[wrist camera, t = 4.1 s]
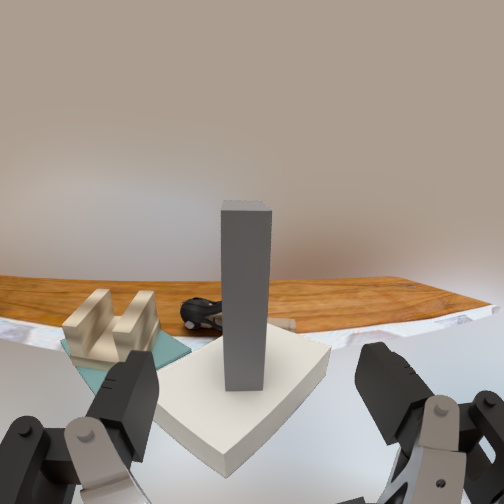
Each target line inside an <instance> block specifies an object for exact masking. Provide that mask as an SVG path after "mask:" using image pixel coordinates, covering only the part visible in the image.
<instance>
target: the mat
mask: <svg viewBox="0 0 504 504" xmlns="http://www.w3.org/2000/svg"><path fill="white" fill-rule="evenodd" d="M60 341H61V344H62V345H63V347H64V349H65V350H66V352H67V354H68V355H69V357H70V354H71V352H70V350H69V347H68V344H67V341H66V338H65V339H63V340H60ZM190 352H191V349H190V348H189V347H187V346H185V345H184V344H182V343H181V342H179V341H178V340H176V339H174V338H173V337H171V336H170V335H168V334H167V333H165V332H164V331H162V330H160V332H159V335H158V337H157V340H156V342H155V345H154V348H153V350H152V354H153V358H154V363H155V367H156V370H158V369H160V368H162V367H164V366H166V365H168V364H169V363H172V362H173V361H175V360H177V359H179V358H181V357H183V356H185V355H186V354H188V353H190ZM70 359H71V358H70ZM75 367H76V368H77V370H78V371H79V373H80V374H81V376H82V377H83V379H84V380H85V382H86V383H87V384H88V386H89V388H90V389H91V390H92V392H93V393H94V394H95V396H96V394H97V392H98V390H99V388H101V384H102V382H103V380H105V379H104V378H105V377H106V375H107V373H108V371H102V370H96V369H90V368H84V367H79V366H75Z"/></svg>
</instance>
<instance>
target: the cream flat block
mask: <svg viewBox="0 0 504 504" xmlns="http://www.w3.org/2000/svg"><path fill="white" fill-rule="evenodd" d="M331 347H332V346H329V345H326V344H324V343H321V342H318V341H315V340H312V339H309V338H306V337H304V336H301V335H298V334H295V333H293V332H290V331H287V330H284V329H282V328H279V327H276V326H274V325H271V324H269V323H267V333H266V350H265V367H264V382H263V391H225V377H224V354H223V336H221V337H219V338H218V339H216V340H214V341H212V342H211V343H209V344H207V345H205V346H204V347H202V348H200V349H198V350H196V351H195V352H193V353H191V354H189V355H187V356H186V357H184V358H182V359H180V360H178V361H176V362H175V363H173V364H171V365H169V366H167V367H165V368H164V369H162V370H160V371H158V372H157V376H158V380H159V398H158V401H157V405H156V409H155V413H154V417H153V421H154V422H156V423H157V424H158V425H159V426H160V427H161V428H162V429H163V430H164V431H166V432H167V433H168V434H169V435H170V436H171V437H172V438H173V439H175V440H176V441H177V442H178V443H179V444H181V445H182V446H183V447H184V448H185V449H187V450H188V451H189V452H190V453H192V454H193V455H194V456H196V457H197V458H198V459H199V460H201V461H202V462H203V463H205V464H206V465H207V466H209V467H210V468H212V469H213V470H214V471H216V472H218V473H219V474H220V475H222V476H223V477H225V478H228V477H229V476H230V475H231V474H232V473H233V472H234V471H236V470H237V469H238V468H239V467H240V466H241V465H242V464H243V463H244V462H246V460H248V459H249V458H250V457H251V456H252V455H253V454H254V453H255V452H256V451H257V450H258V449H259V448H260V447H261V446H262V445H263V444H264V443H265V442H266V441H267V440H268V439H269V438H270V437H271V436H272V435H273V434H274V433H275V432H276V431H277V430H278V429H279V428H280V427H281V426H282V425H283V424H284V423H285V422H286V421H287V420H288V418H289V417H290V416H291V415H292V414H293V413H294V412H295V411H296V410H297V409H298V407H299V406H300V405H301V404H302V403H303V402H304V400H305V399H306V398H307V397H308V396H309V394H310V393H311V392H312V391H313V390H314V389H315V387H316V386H317V385H318V384H319V382H320V381H321V380H322V379H323V378H324V376H325V374H326V370H327V366H328V361H329V356H330V351H331Z"/></svg>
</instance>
